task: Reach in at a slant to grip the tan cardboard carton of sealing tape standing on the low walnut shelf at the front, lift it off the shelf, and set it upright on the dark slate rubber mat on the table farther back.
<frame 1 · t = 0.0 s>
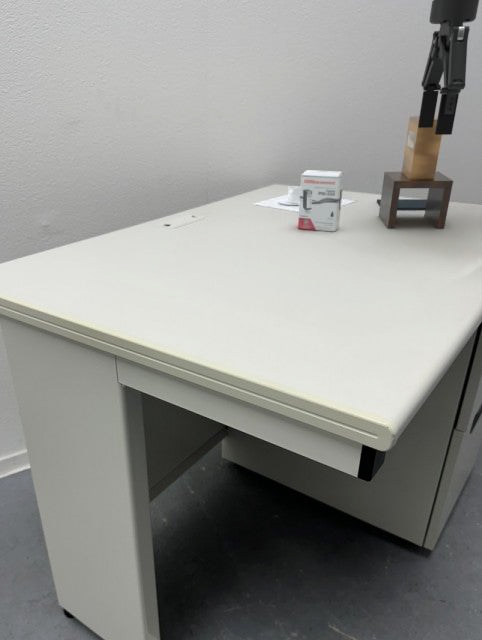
hand: (433, 131, 104), 20 cm above the table, tool pointing down, fingers open, 13 cm apart
mat: (407, 205, 139), on the table
tape carton: (417, 176, 120), point 10 cm above the table, touching shelf
ink box: (318, 229, 122), on the table
teacup and saucer: (304, 203, 146), on the table
shelf: (409, 221, 125), on the table
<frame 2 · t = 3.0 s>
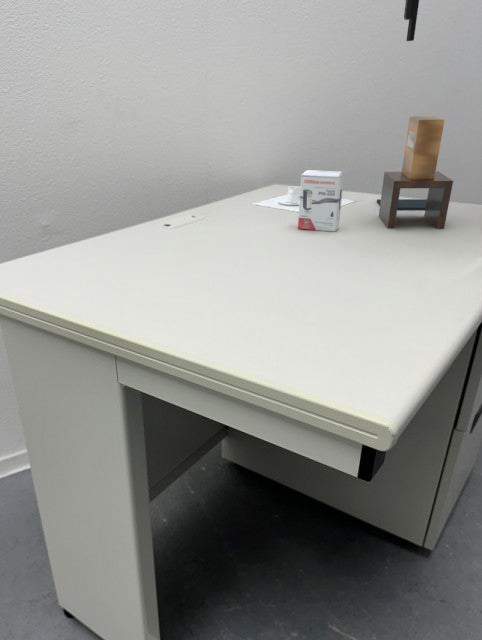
hand: (447, 39, 101), 35 cm above the table, tool pointing down, fingers open, 13 cm apart
nothing on the table moved.
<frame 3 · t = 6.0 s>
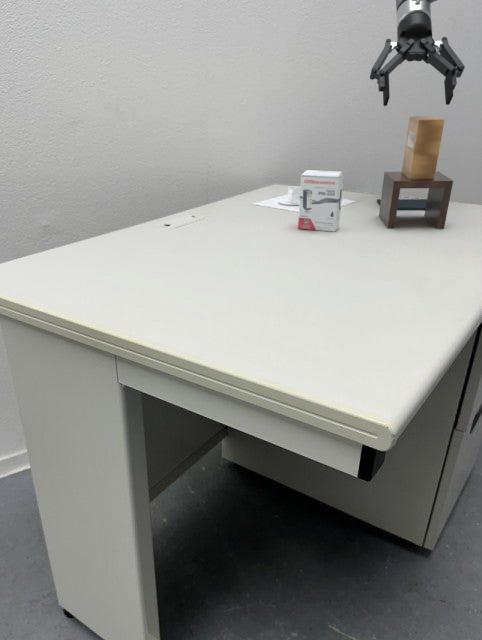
hand: (417, 100, 122), 24 cm above the table, tool tilted 45°, fingers open, 13 cm apart
nothing on the table moved.
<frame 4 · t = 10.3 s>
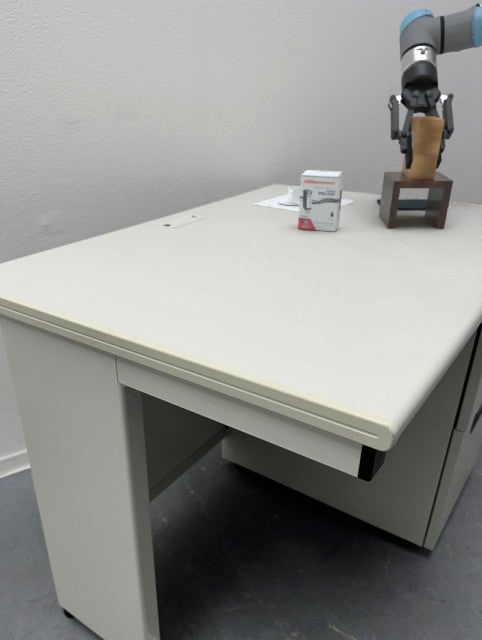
hand: (423, 164, 115), 13 cm above the table, tool tilted 45°, fingers closed on tape carton, 5 cm apart
tape carton: (417, 176, 120), point 10 cm above the table, touching gripper, shelf
everything else where it was.
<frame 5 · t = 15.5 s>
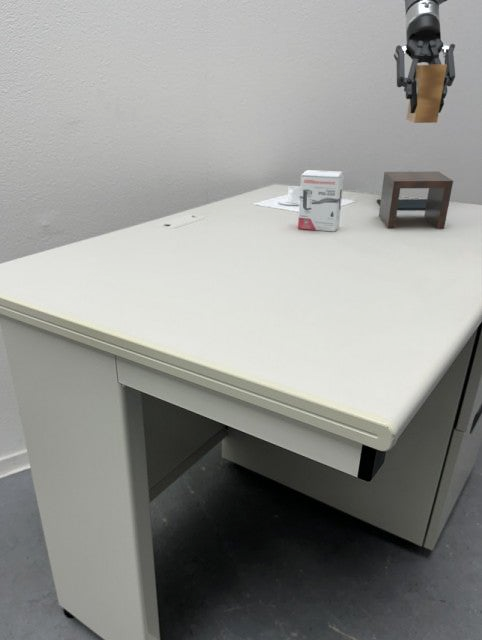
hand: (427, 108, 125), 23 cm above the table, tool tilted 45°, fingers closed on tape carton, 5 cm apart
tape carton: (421, 121, 129), point 20 cm above the table, touching gripper
everything else where it was.
when the fingers open (3 cm above the table, at t = 20.7 s): tape carton stays where it is, resting on mat.
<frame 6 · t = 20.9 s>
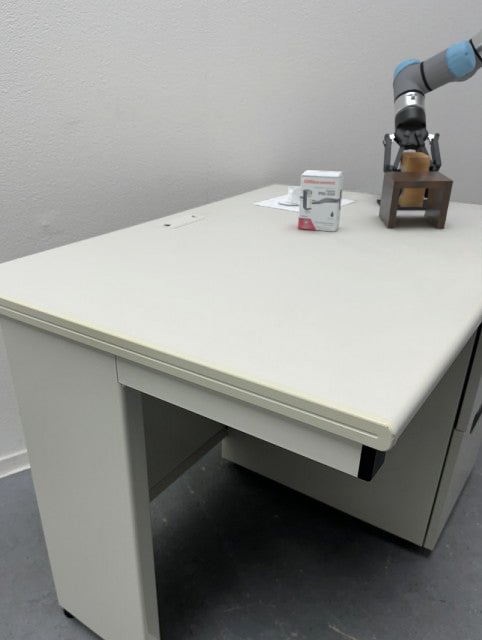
hand: (413, 194, 134), 3 cm above the table, tool tilted 45°, fingers open, 6 cm apart
tape carton: (408, 203, 139), point 1 cm above the table, touching mat
everything else where it was.
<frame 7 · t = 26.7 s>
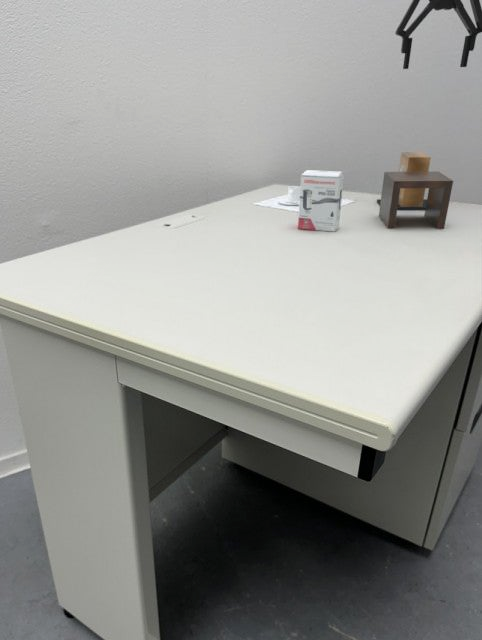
hand: (434, 68, 134), 31 cm above the table, tool pointing down, fingers open, 13 cm apart
nothing on the table moved.
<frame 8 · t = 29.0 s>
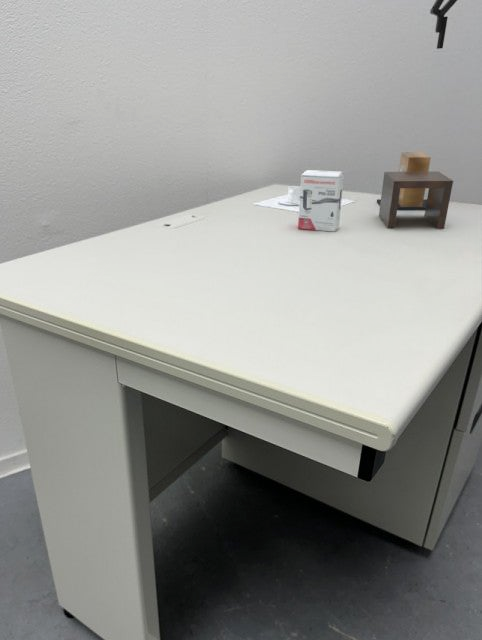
hand: (468, 47, 134), 35 cm above the table, tool pointing down, fingers open, 13 cm apart
nothing on the table moved.
at the end: tape carton inside the target area on the mat (0.1 cm from its centre), point 0.6 cm above the mat's base; tape carton tilted 0°; the gripper is holding nothing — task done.
